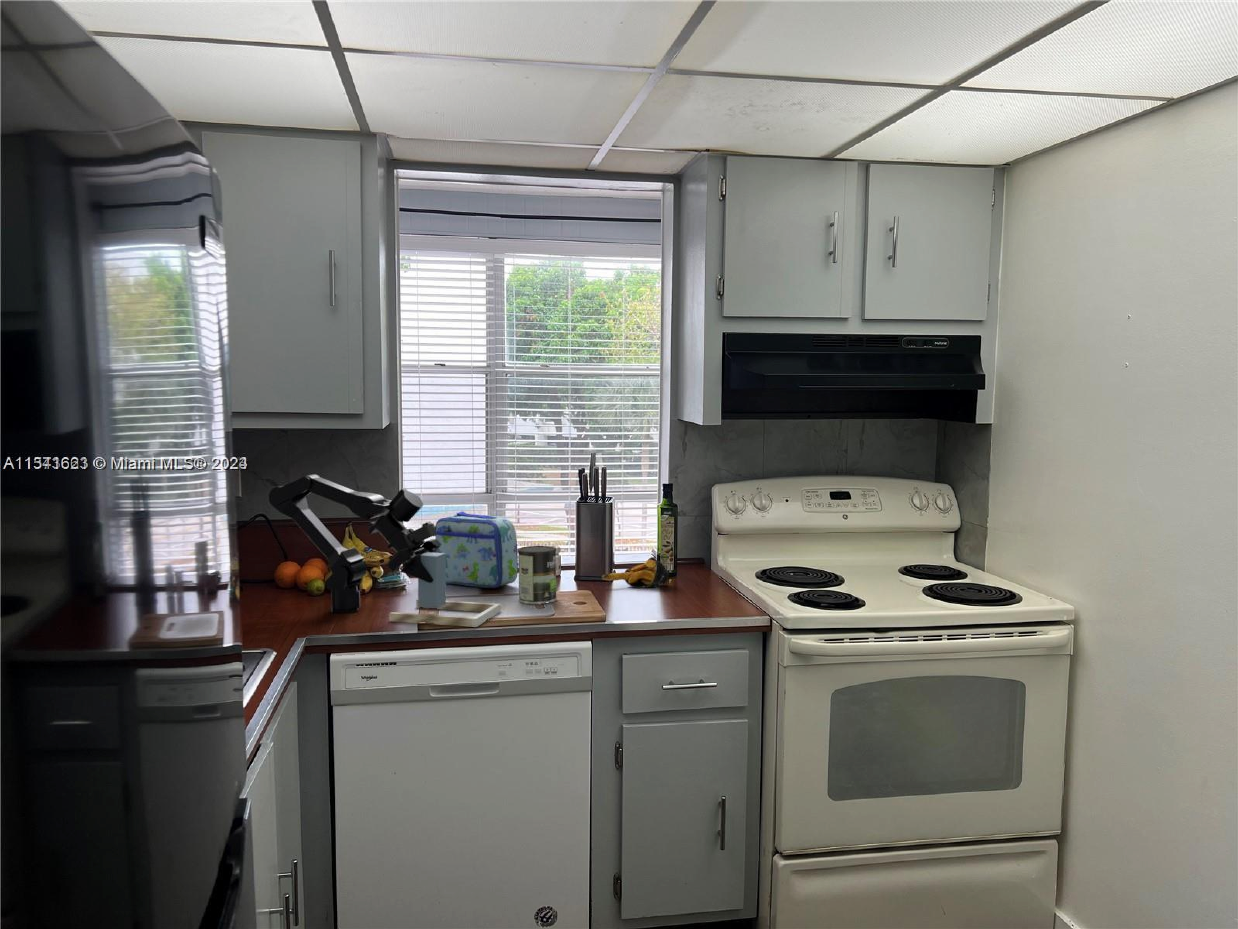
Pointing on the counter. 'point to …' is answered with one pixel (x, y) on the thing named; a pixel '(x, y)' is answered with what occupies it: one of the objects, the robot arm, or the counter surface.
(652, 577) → the yellow lumpy two-tone part
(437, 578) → the slate block
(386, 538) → the robot arm
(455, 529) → the lunch box
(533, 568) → the coffee can
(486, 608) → the wooden picture frame
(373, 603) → the counter surface
